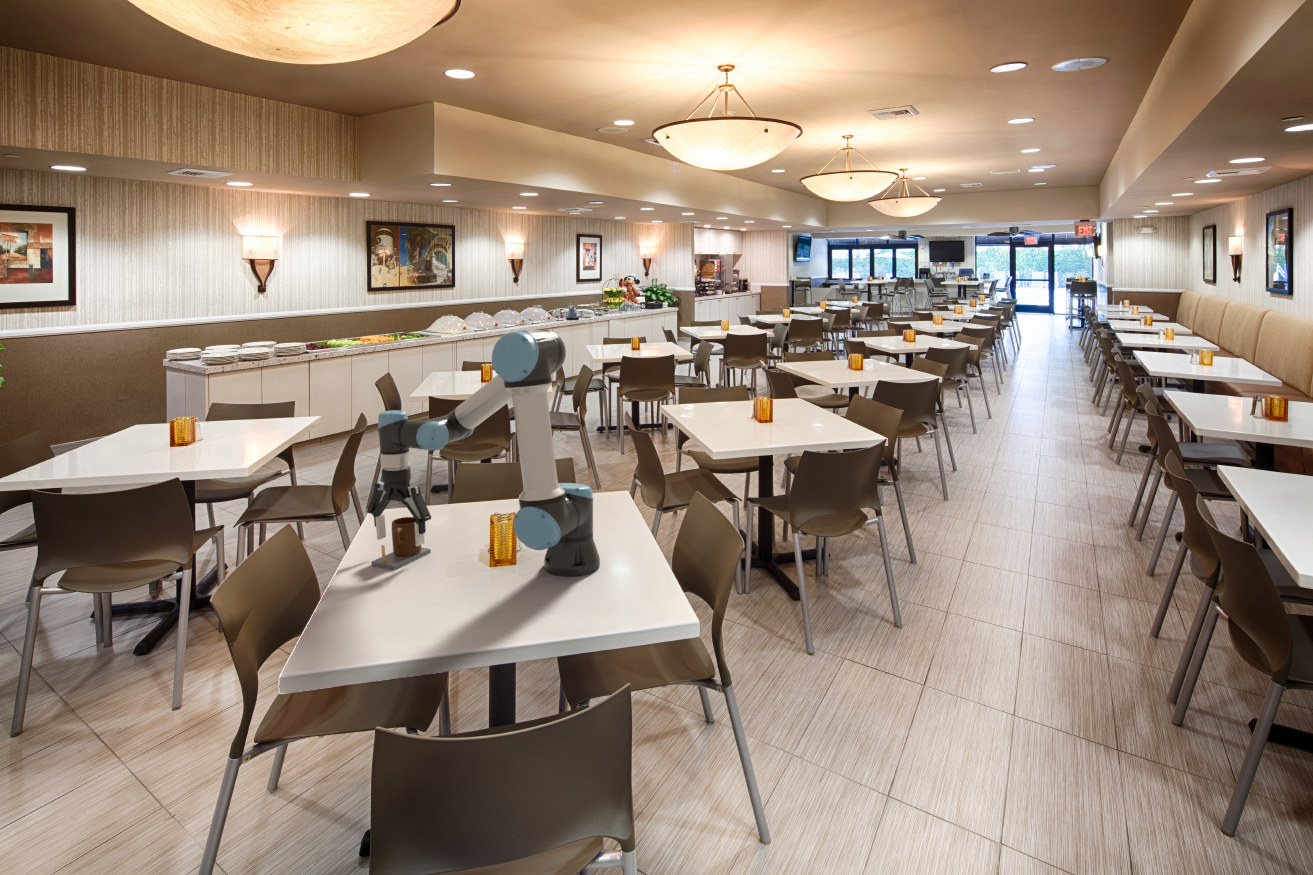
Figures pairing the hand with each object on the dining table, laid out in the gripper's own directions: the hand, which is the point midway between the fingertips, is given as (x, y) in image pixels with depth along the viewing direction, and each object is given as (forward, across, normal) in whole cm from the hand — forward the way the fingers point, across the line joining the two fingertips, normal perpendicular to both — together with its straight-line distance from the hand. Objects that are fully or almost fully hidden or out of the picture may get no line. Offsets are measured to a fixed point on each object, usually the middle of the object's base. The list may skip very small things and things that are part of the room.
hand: (400, 541), depth 204 cm
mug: (+4, -1, 0) cm, 4 cm away
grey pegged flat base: (+5, 0, 0) cm, 5 cm away
